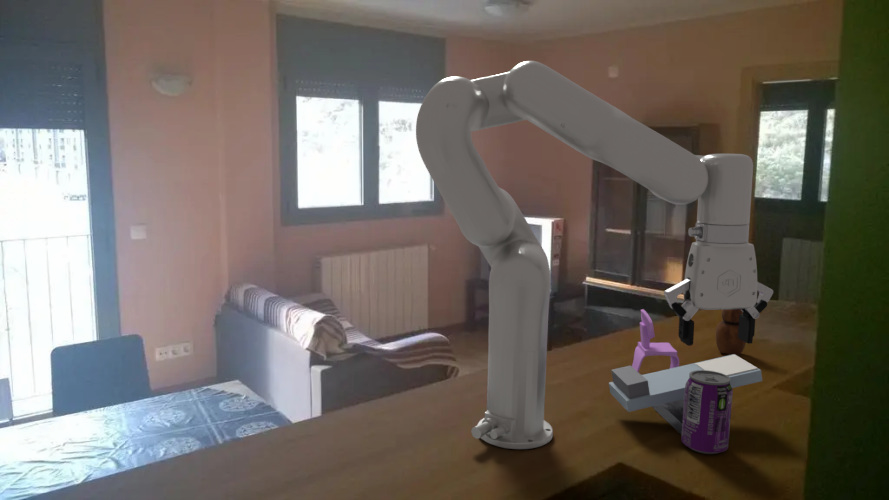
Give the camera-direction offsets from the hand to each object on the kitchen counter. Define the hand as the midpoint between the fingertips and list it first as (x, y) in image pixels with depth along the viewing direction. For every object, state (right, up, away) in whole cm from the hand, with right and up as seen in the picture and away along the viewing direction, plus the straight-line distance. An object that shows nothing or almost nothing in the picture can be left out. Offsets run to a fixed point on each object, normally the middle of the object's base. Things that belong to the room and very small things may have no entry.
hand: (715, 342), depth 109 cm
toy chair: (0, -13, +34) cm, 36 cm away
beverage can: (-1, -18, +3) cm, 18 cm away
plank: (-1, -10, +13) cm, 16 cm away
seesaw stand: (-1, -16, +14) cm, 21 cm away
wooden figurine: (+24, -10, +54) cm, 60 cm away
